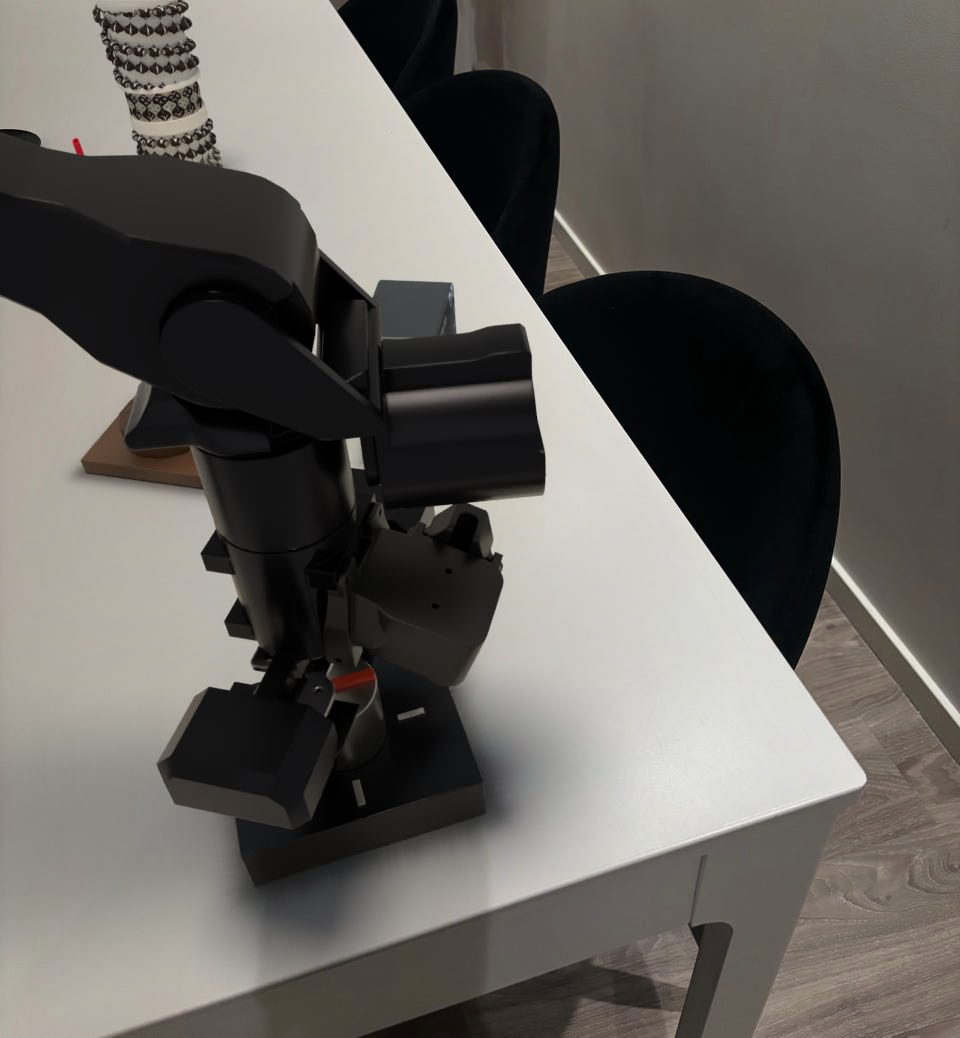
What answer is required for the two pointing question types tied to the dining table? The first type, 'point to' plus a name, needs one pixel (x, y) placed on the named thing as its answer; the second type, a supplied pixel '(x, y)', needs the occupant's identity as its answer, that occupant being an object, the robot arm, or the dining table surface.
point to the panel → (381, 786)
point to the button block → (139, 458)
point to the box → (415, 308)
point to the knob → (359, 713)
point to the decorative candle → (158, 77)
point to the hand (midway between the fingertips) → (341, 729)
